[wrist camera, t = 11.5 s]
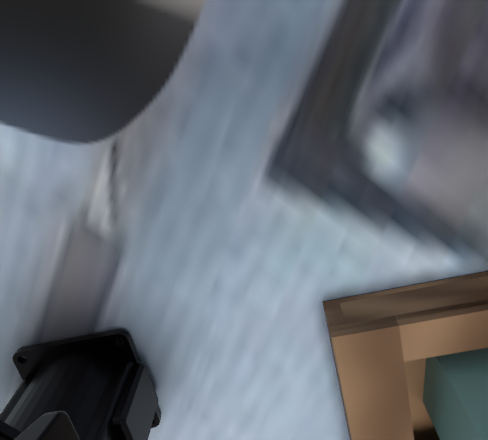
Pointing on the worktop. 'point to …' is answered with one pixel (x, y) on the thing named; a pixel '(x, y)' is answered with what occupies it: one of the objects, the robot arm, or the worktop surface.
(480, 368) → the teal post
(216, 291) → the worktop surface
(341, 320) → the walnut box
